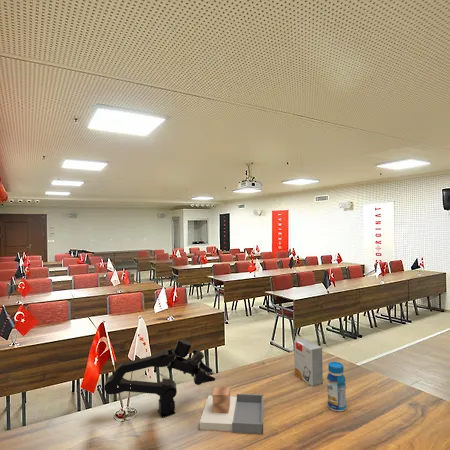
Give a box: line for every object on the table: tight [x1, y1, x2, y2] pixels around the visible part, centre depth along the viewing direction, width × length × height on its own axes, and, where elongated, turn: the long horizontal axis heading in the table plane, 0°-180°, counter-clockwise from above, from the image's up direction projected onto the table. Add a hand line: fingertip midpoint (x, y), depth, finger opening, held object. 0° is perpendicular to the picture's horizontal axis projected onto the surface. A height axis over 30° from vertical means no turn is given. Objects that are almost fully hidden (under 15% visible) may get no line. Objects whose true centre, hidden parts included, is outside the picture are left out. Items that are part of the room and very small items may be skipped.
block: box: [212, 386, 231, 413], centre depth 147 cm, size 7×7×8 cm
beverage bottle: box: [326, 361, 347, 412], centre depth 151 cm, size 8×8×20 cm
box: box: [231, 393, 265, 435], centre depth 146 cm, size 13×24×4 cm, turn 173°
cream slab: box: [199, 394, 237, 432], centre depth 147 cm, size 14×22×3 cm, turn 173°
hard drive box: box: [293, 338, 324, 387], centre depth 179 cm, size 16×8×20 cm, turn 25°
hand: (213, 375), depth 155 cm, fingers open, 9 cm apart
